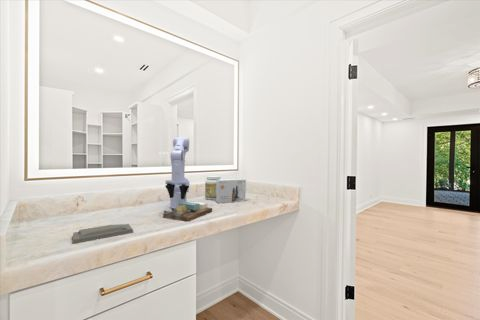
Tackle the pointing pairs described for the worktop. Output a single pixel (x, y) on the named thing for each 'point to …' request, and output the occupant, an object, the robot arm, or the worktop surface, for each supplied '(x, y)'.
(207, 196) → the supplement tub
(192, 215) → the panel
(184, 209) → the brass slider
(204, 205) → the white rectangular block
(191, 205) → the teal button
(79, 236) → the soap mold
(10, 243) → the worktop surface
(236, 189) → the skincare box
